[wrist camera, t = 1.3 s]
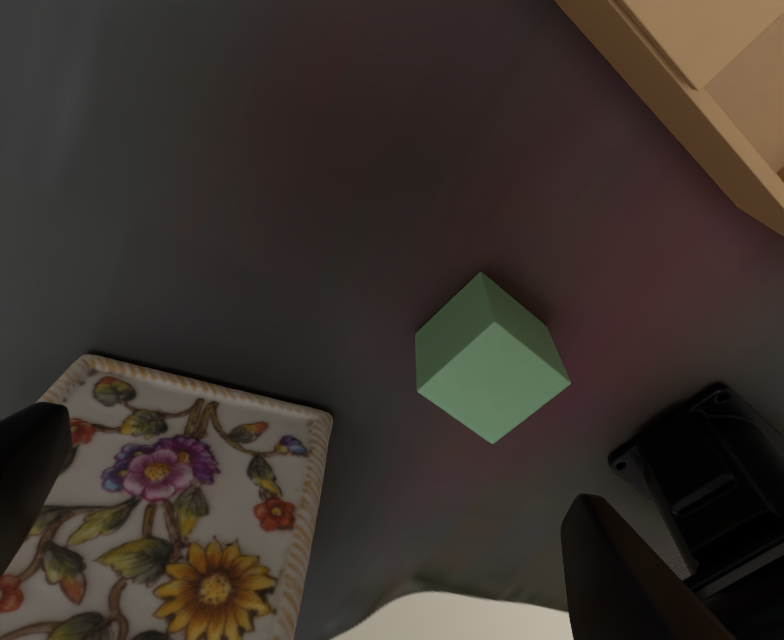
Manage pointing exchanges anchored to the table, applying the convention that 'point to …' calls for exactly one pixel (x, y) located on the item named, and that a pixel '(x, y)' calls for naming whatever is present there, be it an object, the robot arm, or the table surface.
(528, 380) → the block
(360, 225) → the table surface
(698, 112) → the carton
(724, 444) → the robot arm
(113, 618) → the decorative jar
